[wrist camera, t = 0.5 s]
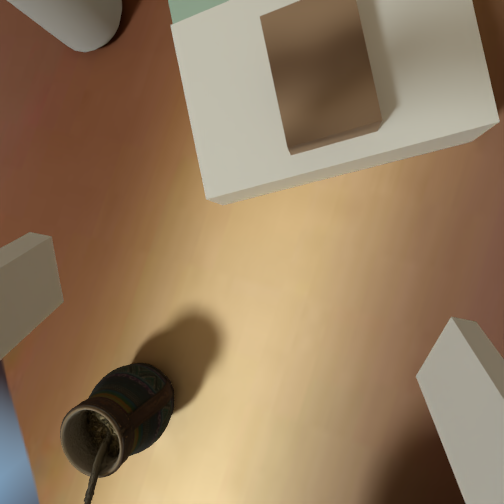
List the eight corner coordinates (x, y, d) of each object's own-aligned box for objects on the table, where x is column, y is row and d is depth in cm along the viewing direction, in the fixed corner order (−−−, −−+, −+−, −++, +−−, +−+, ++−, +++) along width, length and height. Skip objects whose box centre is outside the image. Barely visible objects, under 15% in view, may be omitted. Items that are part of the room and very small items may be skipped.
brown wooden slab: (377, 131, 21) (382, 120, 19) (290, 155, 23) (287, 147, 21) (349, 3, 22) (351, -21, 20) (265, 35, 23) (259, 16, 21)
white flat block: (471, 141, 24) (499, 121, 20) (223, 205, 28) (206, 199, 24) (431, -38, 24) (450, -93, 20) (191, 54, 29) (170, 25, 25)
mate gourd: (165, 342, 30) (89, 392, 20) (198, 417, 30) (136, 504, 20) (106, 368, 32) (10, 426, 22) (136, 439, 31) (51, 530, 21)
